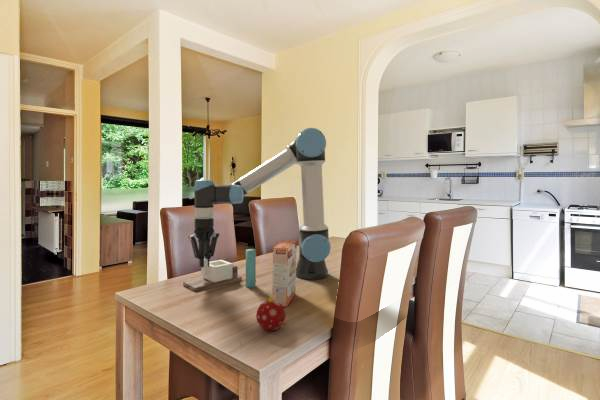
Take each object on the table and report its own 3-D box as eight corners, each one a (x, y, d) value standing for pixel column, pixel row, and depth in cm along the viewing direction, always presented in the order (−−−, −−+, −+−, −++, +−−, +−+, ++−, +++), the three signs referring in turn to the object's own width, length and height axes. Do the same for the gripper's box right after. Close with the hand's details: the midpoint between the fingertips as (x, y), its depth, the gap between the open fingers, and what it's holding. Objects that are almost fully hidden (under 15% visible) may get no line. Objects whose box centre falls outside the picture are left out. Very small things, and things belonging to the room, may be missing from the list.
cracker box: (288, 307, 119) (288, 248, 117) (271, 306, 120) (271, 247, 118) (296, 294, 132) (297, 240, 131) (281, 292, 134) (282, 239, 132)
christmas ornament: (265, 338, 96) (265, 303, 95) (251, 327, 103) (251, 294, 102) (290, 330, 101) (291, 297, 100) (275, 320, 108) (275, 289, 107)
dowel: (257, 286, 141) (257, 250, 140) (249, 288, 138) (249, 251, 137) (251, 283, 144) (251, 248, 143) (243, 285, 141) (243, 250, 140)
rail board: (242, 280, 149) (242, 265, 148) (195, 291, 133) (194, 275, 133) (229, 275, 156) (229, 261, 155) (183, 285, 141) (183, 270, 140)
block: (232, 278, 146) (232, 263, 145) (213, 282, 140) (213, 267, 139) (221, 273, 152) (221, 259, 152) (202, 277, 146) (202, 263, 146)
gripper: (213, 215, 147) (213, 269, 149) (184, 217, 138) (185, 275, 140) (222, 217, 142) (223, 273, 143) (193, 219, 133) (194, 279, 134)
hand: (204, 274), depth 141 cm, fingers closed
